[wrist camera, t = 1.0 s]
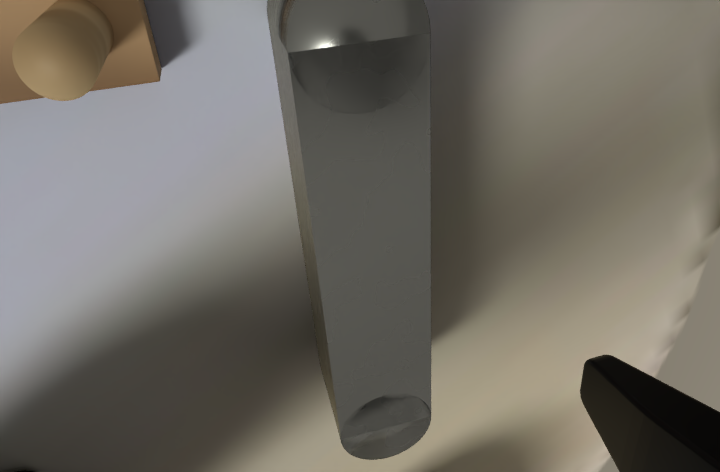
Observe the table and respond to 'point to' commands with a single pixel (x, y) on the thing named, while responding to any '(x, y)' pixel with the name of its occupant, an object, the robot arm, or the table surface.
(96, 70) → the peg cradle
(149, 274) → the table surface
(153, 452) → the table surface
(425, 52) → the grey notched block
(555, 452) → the table surface
